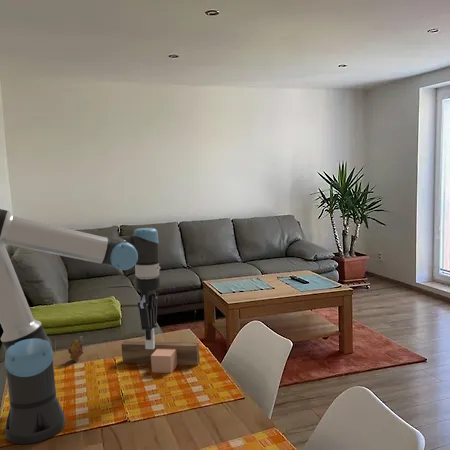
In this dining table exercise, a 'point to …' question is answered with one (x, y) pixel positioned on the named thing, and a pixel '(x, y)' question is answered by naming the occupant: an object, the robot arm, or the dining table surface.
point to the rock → (76, 349)
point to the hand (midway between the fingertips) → (150, 348)
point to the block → (164, 360)
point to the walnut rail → (139, 354)
